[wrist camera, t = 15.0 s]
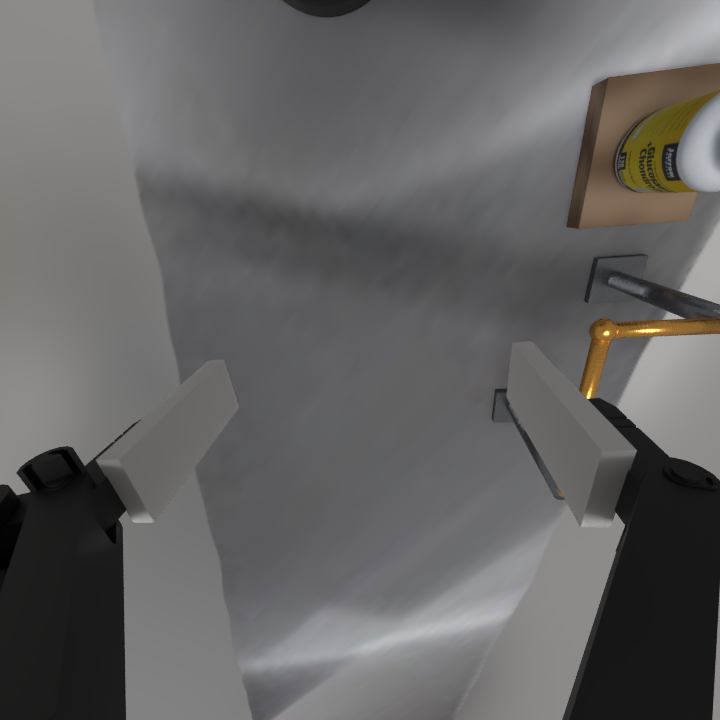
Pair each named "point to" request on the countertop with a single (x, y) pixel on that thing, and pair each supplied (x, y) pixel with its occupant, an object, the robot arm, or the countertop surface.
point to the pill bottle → (674, 149)
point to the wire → (621, 329)
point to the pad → (605, 134)
